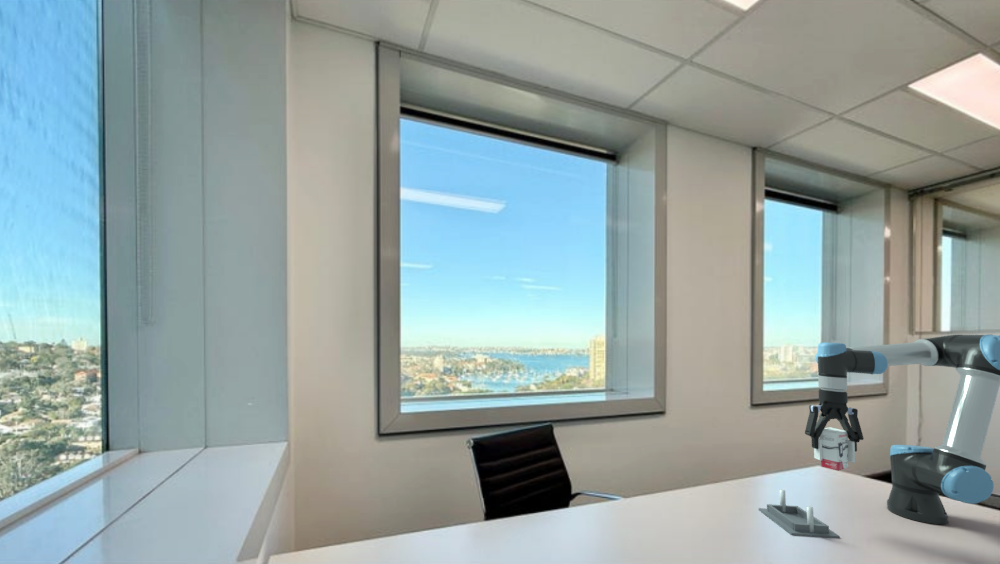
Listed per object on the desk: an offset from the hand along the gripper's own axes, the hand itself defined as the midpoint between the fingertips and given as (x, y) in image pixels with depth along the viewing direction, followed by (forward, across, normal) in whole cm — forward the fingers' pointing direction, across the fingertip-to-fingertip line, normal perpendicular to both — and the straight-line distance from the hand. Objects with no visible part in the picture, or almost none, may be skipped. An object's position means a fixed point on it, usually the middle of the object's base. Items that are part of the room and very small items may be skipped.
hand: (834, 460), depth 138 cm
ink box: (+2, 0, 0) cm, 2 cm away
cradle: (+21, +12, -1) cm, 24 cm away
